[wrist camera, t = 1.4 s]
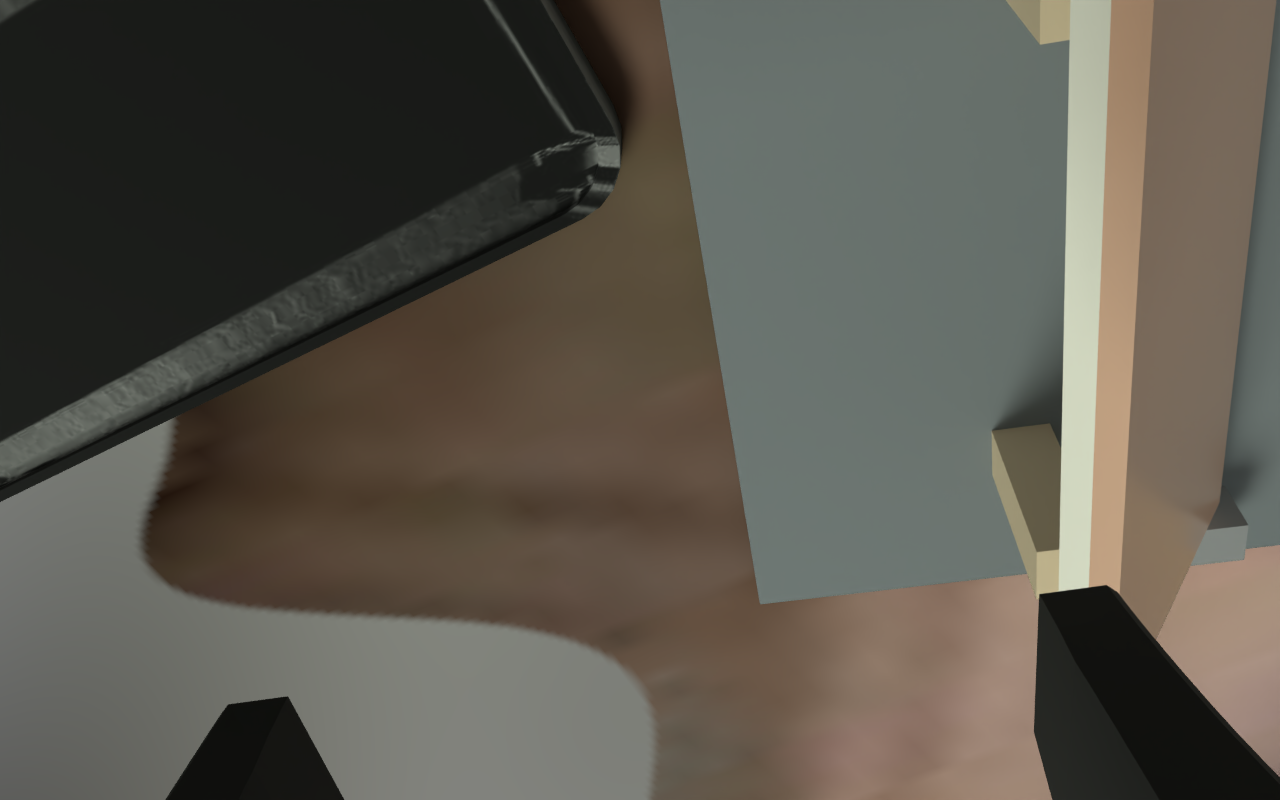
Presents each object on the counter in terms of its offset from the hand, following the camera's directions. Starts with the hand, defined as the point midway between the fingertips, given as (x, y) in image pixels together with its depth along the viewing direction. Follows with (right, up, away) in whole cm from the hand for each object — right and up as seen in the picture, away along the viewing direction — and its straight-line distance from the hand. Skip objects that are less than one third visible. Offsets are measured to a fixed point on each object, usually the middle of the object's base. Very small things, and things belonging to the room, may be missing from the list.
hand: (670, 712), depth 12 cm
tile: (+7, +5, +5) cm, 10 cm away
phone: (-9, +7, +8) cm, 14 cm away
